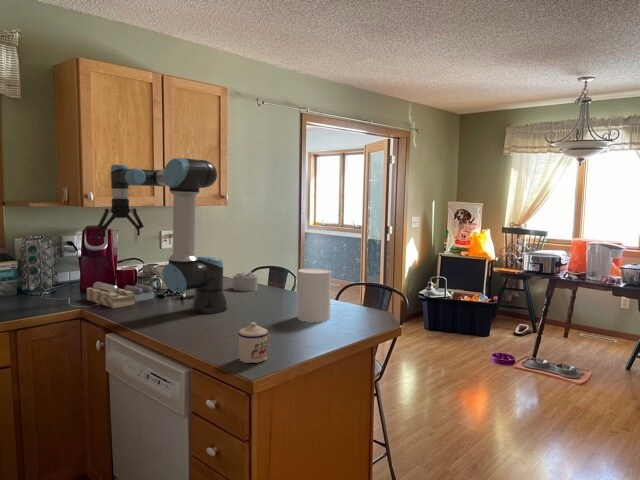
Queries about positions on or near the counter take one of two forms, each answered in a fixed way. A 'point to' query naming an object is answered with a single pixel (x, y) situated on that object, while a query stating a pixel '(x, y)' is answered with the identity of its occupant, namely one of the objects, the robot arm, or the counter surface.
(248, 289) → the lumpy-topped squat cylinder
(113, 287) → the axle
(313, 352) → the counter surface
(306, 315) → the canister
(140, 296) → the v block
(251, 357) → the teacup with lid
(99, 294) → the beige egg carton
